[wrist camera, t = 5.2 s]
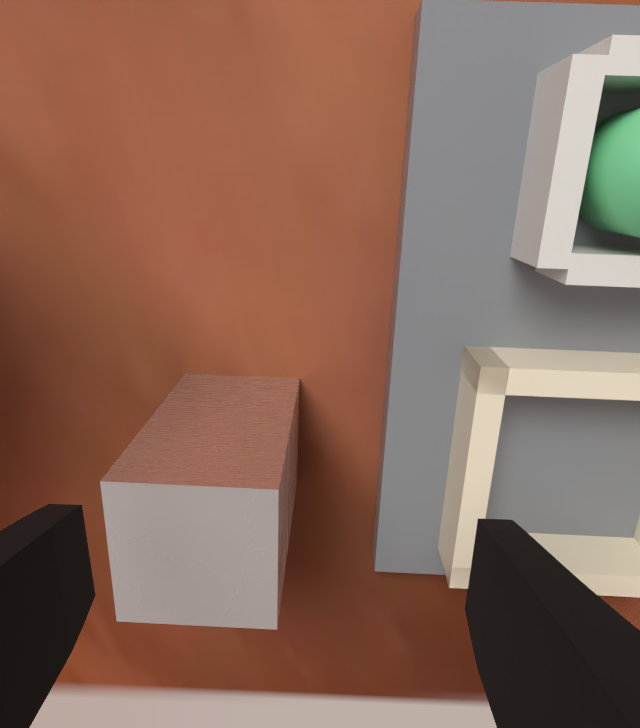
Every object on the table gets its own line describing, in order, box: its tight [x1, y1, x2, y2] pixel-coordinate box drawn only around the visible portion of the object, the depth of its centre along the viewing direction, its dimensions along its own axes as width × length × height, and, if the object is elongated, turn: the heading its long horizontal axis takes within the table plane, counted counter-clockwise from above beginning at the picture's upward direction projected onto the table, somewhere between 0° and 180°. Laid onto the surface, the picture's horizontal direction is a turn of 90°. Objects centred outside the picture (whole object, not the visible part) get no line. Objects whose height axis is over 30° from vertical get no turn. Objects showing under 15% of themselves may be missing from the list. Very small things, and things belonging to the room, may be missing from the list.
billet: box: [100, 374, 300, 630], centre depth 16 cm, size 4×4×7 cm
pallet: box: [372, 0, 640, 597], centre depth 16 cm, size 12×18×3 cm, turn 178°
